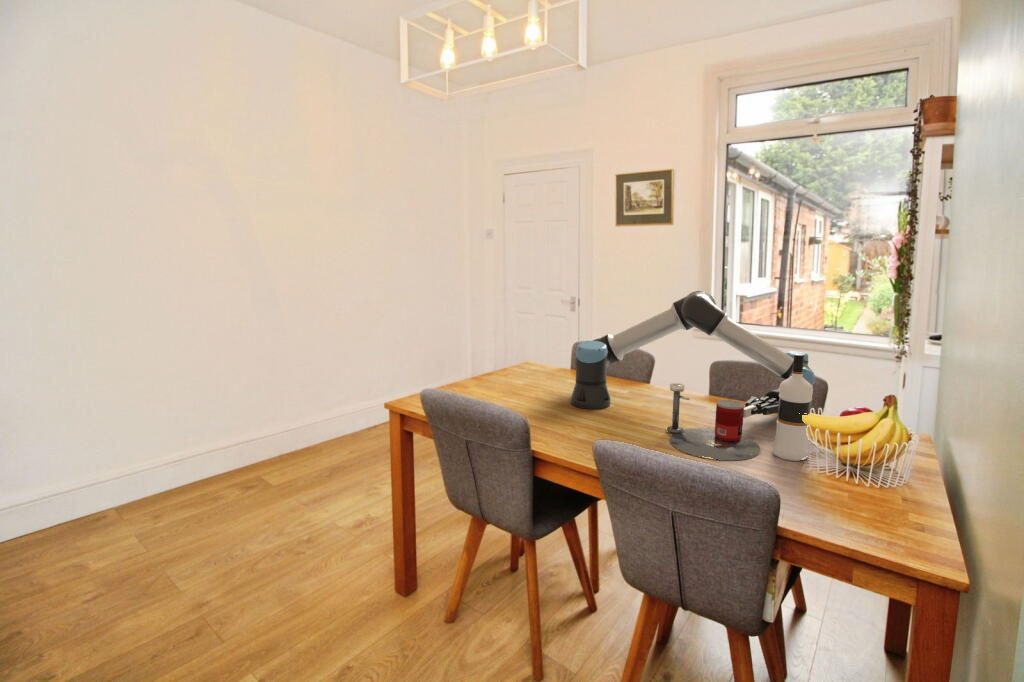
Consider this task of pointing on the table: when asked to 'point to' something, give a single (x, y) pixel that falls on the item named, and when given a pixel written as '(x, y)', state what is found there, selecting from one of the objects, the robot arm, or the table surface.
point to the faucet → (676, 407)
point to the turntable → (714, 445)
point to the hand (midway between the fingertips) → (743, 413)
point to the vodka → (793, 414)
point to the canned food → (729, 420)
